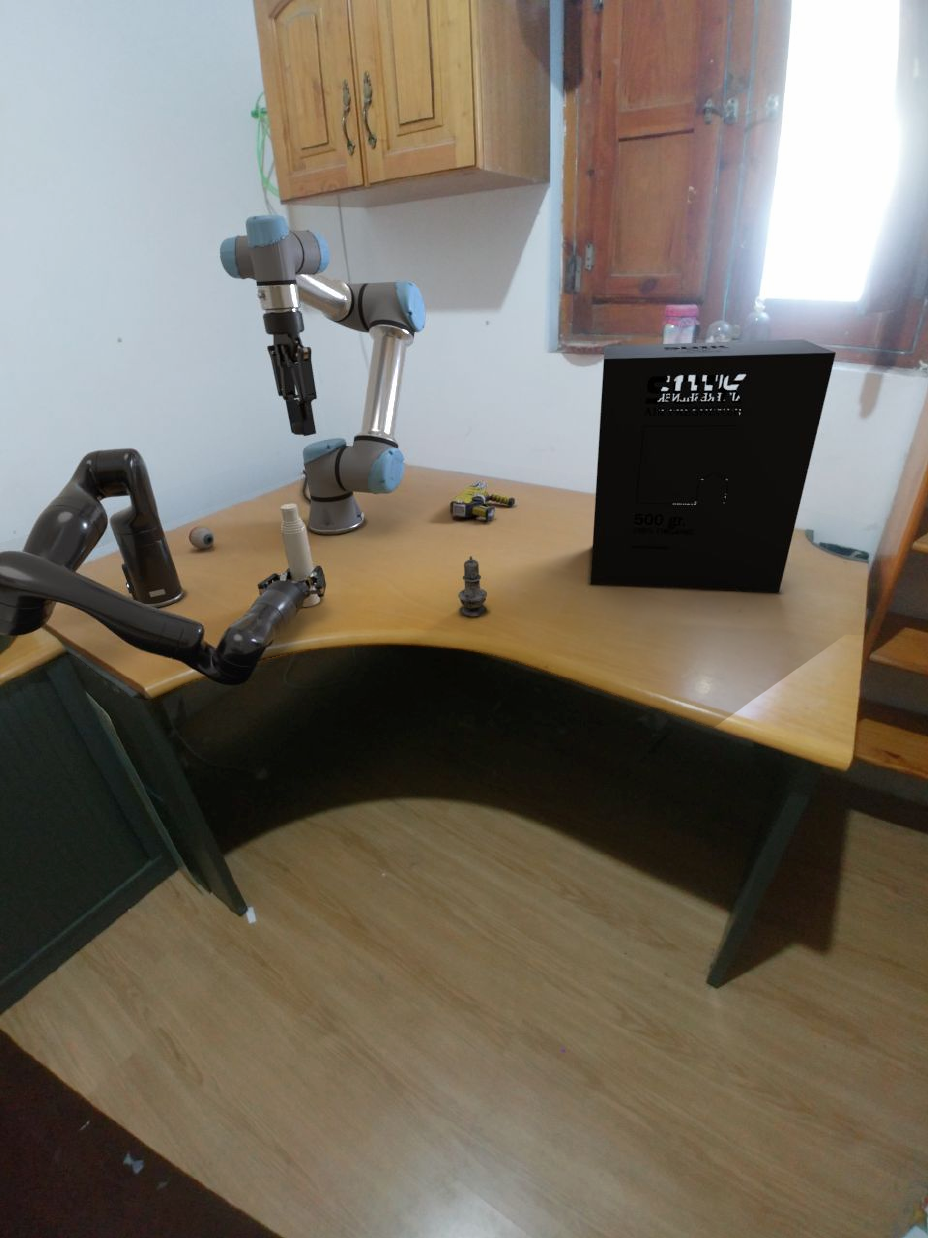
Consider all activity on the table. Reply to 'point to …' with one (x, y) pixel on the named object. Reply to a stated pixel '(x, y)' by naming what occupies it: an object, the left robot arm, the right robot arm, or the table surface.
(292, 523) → the bottle
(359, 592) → the table surface
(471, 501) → the toy gun
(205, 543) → the eyeball
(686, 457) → the cardboard box
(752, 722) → the table surface
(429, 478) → the table surface
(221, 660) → the left robot arm
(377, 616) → the table surface
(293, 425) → the cap
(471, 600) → the dark grey tall piece
